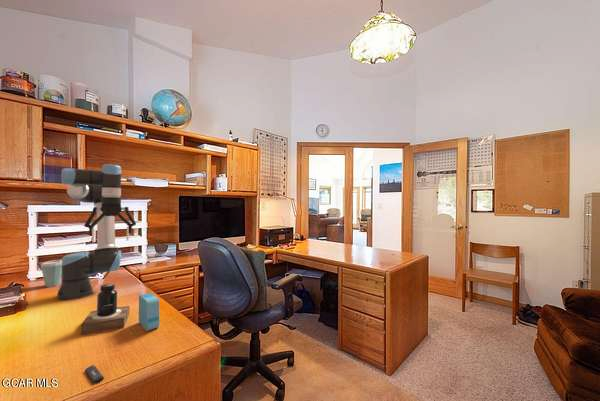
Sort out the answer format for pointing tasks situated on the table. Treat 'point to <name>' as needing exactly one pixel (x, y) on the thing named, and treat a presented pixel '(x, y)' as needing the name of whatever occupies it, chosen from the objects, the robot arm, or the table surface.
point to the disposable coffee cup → (52, 272)
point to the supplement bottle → (107, 300)
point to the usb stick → (94, 374)
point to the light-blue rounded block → (149, 311)
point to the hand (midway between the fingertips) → (111, 241)
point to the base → (105, 321)
